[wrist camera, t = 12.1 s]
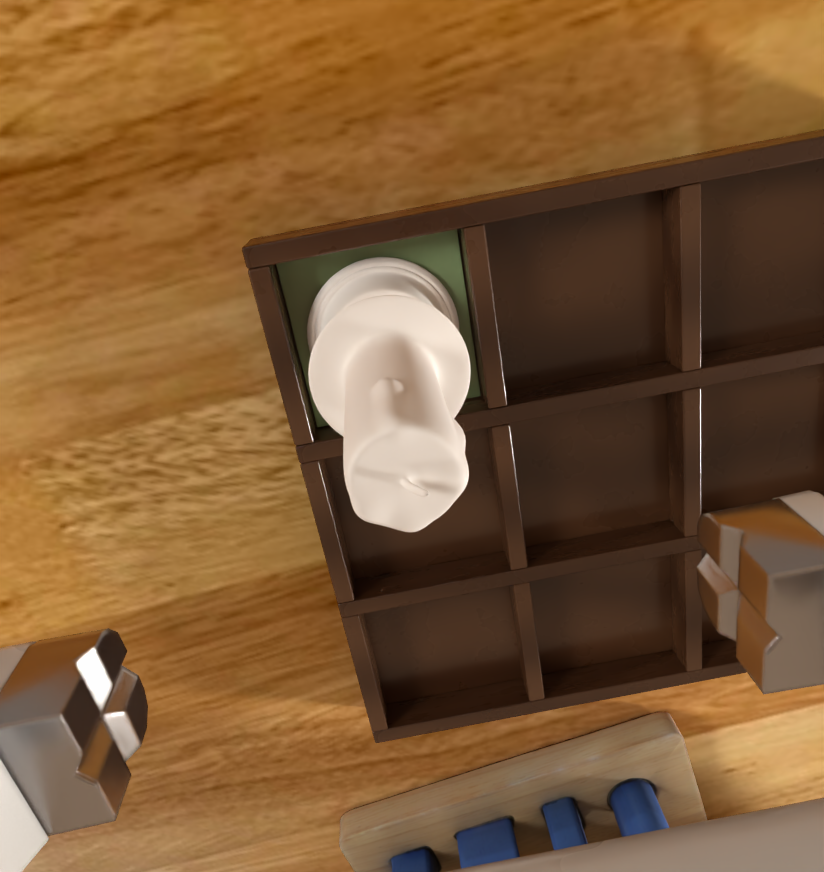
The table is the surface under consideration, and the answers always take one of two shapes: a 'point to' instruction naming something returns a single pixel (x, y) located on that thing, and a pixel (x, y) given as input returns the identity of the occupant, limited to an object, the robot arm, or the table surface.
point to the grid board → (574, 425)
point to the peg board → (533, 803)
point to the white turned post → (392, 388)
